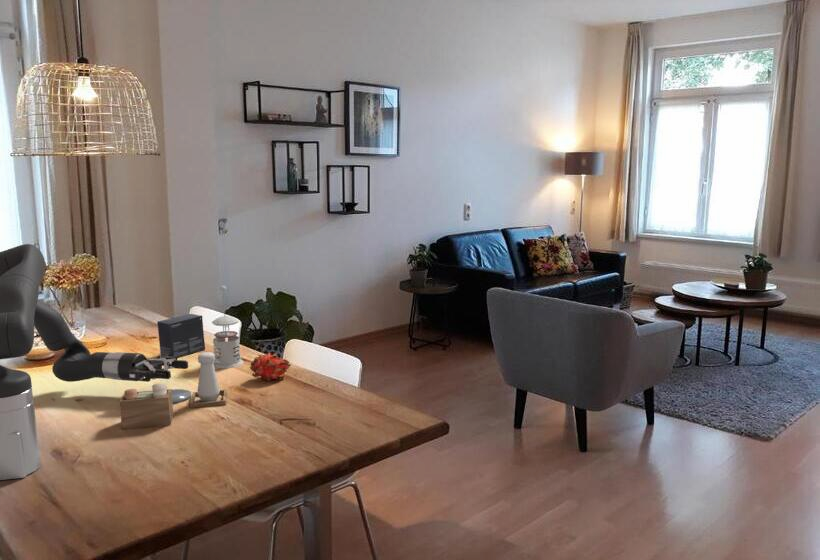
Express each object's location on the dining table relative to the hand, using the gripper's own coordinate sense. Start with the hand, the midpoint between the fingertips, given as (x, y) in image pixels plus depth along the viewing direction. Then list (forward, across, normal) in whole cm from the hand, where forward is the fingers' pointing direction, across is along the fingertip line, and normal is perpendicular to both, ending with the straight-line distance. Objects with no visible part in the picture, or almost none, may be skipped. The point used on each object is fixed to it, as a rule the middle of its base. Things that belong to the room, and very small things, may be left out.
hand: (178, 369), depth 175 cm
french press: (-2, +31, +8) cm, 33 cm away
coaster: (-3, 0, +8) cm, 8 cm away
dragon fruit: (+17, +20, +8) cm, 27 cm away
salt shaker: (+8, 0, +8) cm, 12 cm away
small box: (-22, +39, +8) cm, 45 cm away
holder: (+8, 0, +8) cm, 12 cm away
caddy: (+1, -17, +8) cm, 18 cm away
